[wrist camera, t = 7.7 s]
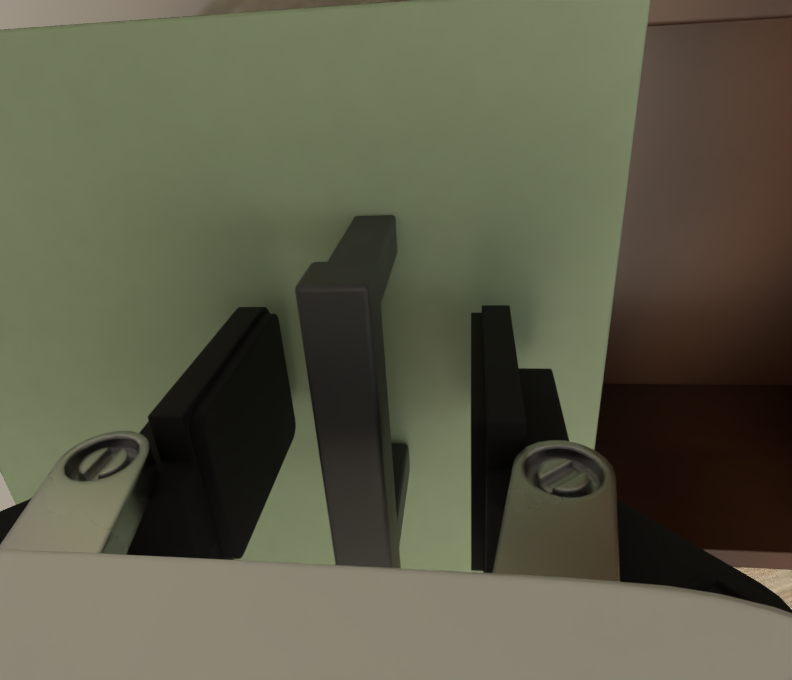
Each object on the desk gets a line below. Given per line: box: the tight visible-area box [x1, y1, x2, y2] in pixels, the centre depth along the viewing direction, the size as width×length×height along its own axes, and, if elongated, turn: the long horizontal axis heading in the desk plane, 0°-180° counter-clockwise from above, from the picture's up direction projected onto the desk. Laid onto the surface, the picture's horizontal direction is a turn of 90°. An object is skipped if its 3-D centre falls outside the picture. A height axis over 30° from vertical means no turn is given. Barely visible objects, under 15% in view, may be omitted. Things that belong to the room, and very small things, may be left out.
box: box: [595, 0, 792, 570], centre depth 16 cm, size 15×13×9 cm
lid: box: [0, 0, 650, 573], centre depth 12 cm, size 15×13×5 cm
